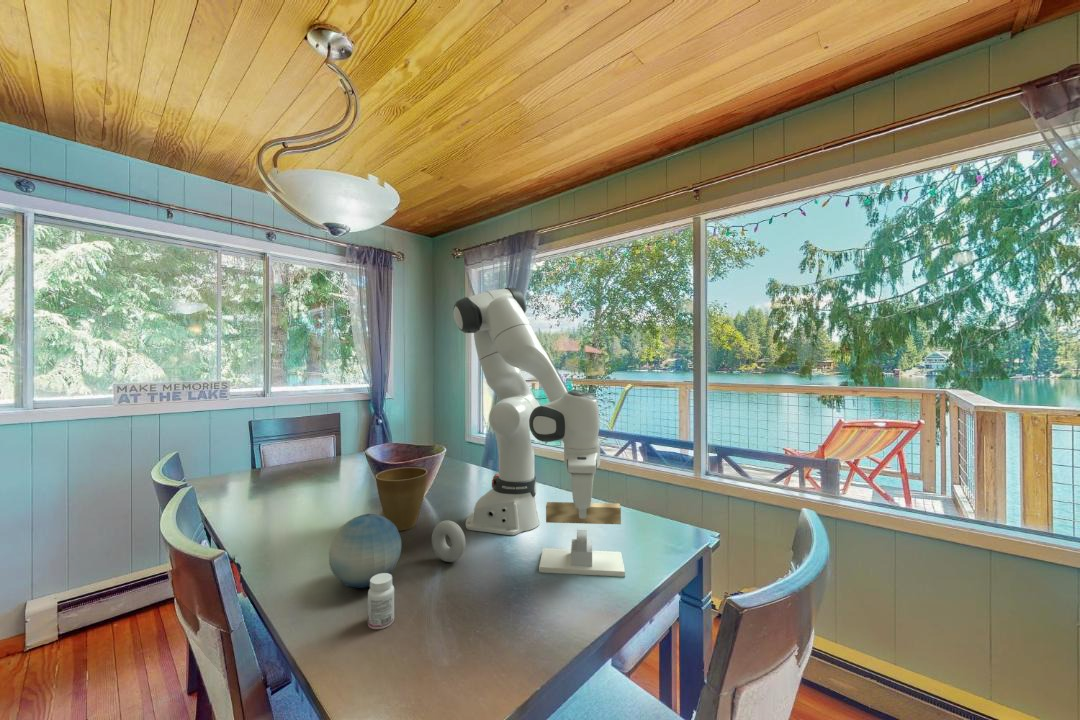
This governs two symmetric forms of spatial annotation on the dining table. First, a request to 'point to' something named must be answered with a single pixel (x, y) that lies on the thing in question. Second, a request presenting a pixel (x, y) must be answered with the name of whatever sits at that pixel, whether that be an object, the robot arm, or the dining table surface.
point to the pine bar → (594, 514)
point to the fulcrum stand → (582, 559)
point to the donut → (456, 537)
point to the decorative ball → (364, 550)
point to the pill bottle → (381, 601)
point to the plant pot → (402, 495)
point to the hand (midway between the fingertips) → (582, 514)
